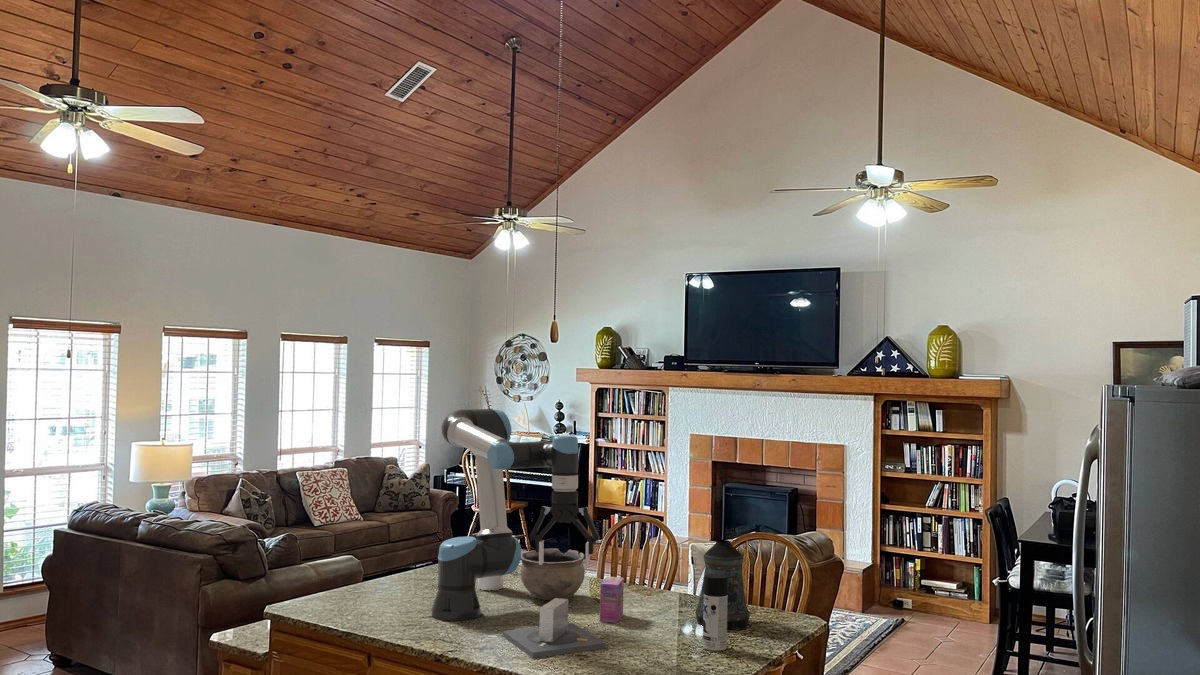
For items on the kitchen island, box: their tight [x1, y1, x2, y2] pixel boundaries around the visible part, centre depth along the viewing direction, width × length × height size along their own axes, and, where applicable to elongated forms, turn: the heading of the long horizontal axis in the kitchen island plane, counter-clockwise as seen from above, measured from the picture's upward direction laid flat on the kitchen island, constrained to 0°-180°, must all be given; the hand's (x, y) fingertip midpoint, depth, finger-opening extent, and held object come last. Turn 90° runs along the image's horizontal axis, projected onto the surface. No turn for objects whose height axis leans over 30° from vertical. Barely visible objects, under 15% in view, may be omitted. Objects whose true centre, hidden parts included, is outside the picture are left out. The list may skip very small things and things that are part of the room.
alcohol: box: [477, 575, 504, 592], centre depth 314 cm, size 9×9×30 cm
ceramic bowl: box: [520, 548, 586, 601], centre depth 300 cm, size 22×22×15 cm
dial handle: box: [538, 598, 569, 642], centre depth 250 cm, size 12×4×10 cm, turn 162°
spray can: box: [702, 574, 728, 653], centre depth 247 cm, size 7×7×20 cm
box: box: [599, 576, 625, 624], centre depth 276 cm, size 10×6×12 cm, turn 168°
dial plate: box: [502, 622, 607, 659], centre depth 250 cm, size 22×22×2 cm
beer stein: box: [695, 539, 751, 631], centre depth 275 cm, size 16×19×25 cm
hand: (564, 565), depth 253 cm, fingers open, 13 cm apart
